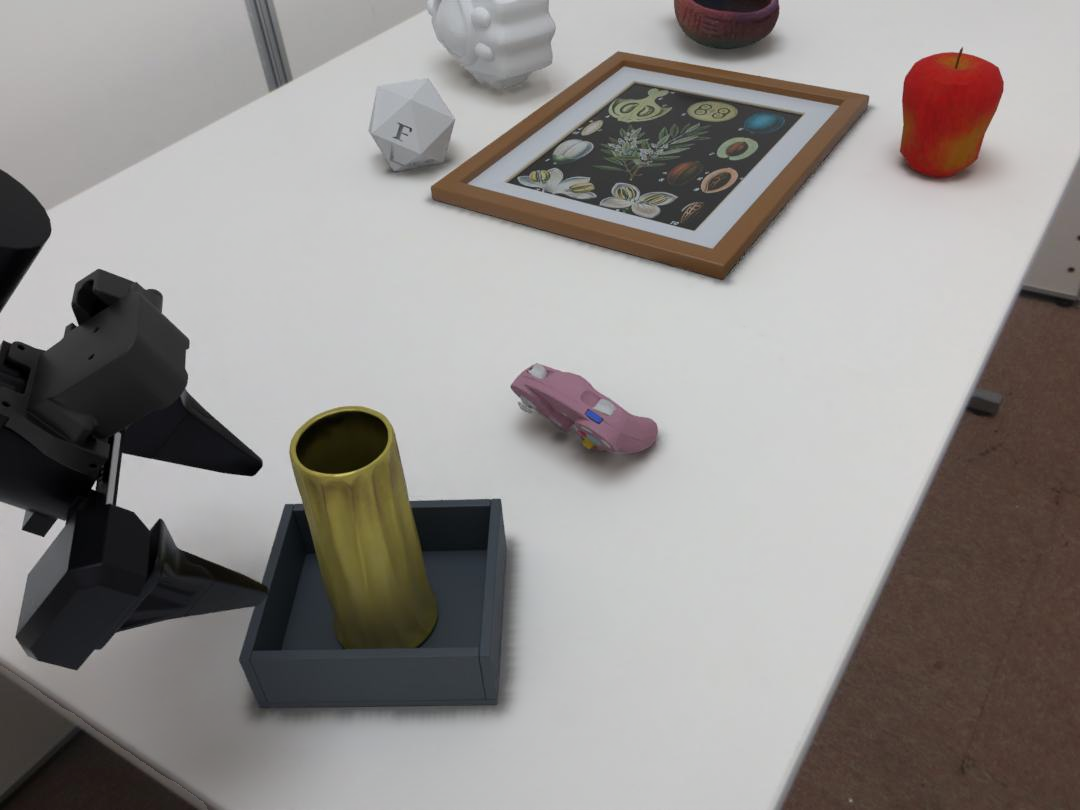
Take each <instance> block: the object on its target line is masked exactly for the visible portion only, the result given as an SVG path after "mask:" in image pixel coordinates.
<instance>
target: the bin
mask: <svg viewBox="0 0 1080 810" xmlns="http://www.w3.org/2000/svg"><path fill="white" fill-rule="evenodd" d="M409 502H410V505H411V509H412V512H413V516H414V520H415V525H416V529H417V533H418V536H419V541H420V545H421V550H422V556H423V561H424V565H425V569H426V573H427V577H428V580H429V583H430V585H431V588H432V590H433V592H434V594H435V597H436V600H437V606H438V618H437V621H436V623H435V626H434V628H433V630H432V631H431V633H430V635H429V636H428V637H427V638H426V640H425V641H424V642H423V643H421V644H420V645H419V646H418V647H416V648H388V649H345V648H344V647H343V646H342V645H341V643H340V642H339V640H338V638H337V636H336V633H335V630H334V624H333V611H332V608H331V605H330V602H329V600H328V597H327V594H326V591H325V587H324V583H323V579H322V575H321V571H320V567H319V563H318V559H317V555H316V551H315V547H314V543H313V539H312V535H311V531H310V527H309V523H308V520H307V516H306V513H305V509H304V506H303V503H285V504H284V505H283V510H282V513H281V516H280V520H279V523H278V526H277V529H276V532H275V536H274V540H273V542H272V546H271V550H270V553H269V557H268V560H267V563H266V566H265V570H264V573H263V577H262V580H261V582H260V583H261V584H263V585H265V586H267V587H268V596H267V597H266V598H265V599H264V600H263V601H262V602H261V603H260V604H259V605H257V606H254V607H253V609H252V610H253V611H252V614H251V617H250V620H249V624H248V628H247V630H246V634H245V637H244V640H243V644H242V648H241V651H240V654H239V658H238V662H239V664H240V666H241V669H242V671H243V673H244V676H245V678H246V680H247V683H248V685H249V687H250V689H251V692H252V694H253V696H254V699H255V701H256V703H257V705H258V708H261V709H262V708H263V709H265V708H266V709H267V708H270V709H271V708H329V707H330V708H332V707H333V708H338V707H388V706H389V707H395V706H396V707H399V706H400V707H401V706H402V707H403V706H464V705H466V706H473V705H474V706H475V705H498V701H499V686H500V670H501V669H500V667H501V652H502V636H503V635H502V634H503V617H504V600H505V584H506V570H507V569H506V568H507V567H506V566H507V553H508V552H507V551H508V550H507V549H508V547H507V537H506V531H505V530H506V529H505V521H504V513H503V505H502V498H474V499H473V498H472V499H471V498H470V499H469V498H468V499H435V500H434V499H429V500H428V499H427V500H409Z"/></svg>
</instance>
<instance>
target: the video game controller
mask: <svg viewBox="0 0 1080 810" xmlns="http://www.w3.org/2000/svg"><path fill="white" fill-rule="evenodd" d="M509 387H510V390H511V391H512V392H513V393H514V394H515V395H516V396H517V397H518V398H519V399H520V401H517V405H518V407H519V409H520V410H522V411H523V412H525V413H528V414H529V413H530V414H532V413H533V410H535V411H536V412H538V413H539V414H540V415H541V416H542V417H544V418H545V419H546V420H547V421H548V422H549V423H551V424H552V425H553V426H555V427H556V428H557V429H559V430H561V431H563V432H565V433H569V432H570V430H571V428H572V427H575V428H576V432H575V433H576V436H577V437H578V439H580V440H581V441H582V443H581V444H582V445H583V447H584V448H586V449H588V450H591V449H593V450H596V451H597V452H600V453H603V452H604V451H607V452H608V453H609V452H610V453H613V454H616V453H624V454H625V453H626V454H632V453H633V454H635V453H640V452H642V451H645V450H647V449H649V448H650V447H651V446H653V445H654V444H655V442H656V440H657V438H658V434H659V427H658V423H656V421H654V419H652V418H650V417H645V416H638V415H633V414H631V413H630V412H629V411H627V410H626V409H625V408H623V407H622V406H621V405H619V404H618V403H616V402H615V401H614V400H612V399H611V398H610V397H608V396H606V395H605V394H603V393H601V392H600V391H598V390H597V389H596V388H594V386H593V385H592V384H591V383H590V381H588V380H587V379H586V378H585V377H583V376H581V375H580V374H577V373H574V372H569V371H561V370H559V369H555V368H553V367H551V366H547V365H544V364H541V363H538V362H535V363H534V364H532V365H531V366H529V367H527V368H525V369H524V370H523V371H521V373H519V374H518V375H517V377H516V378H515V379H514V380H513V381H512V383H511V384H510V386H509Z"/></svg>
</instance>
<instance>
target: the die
mask: <svg viewBox="0 0 1080 810" xmlns="http://www.w3.org/2000/svg"><path fill="white" fill-rule="evenodd" d="M455 123H456V118H455V116H454V114H453V113H452V111H451V110H450V109H449V107H448V105H447V104H446V102H445V100H444V99H443V98H442V96H441V94H440V93H439V91H438V90H437V88H436V87H435V85H434V84H433V82H432V80H431V79H430V78H429V77H425V78H419V79H414V80H412V79H411V80H407V81H406V80H405V81H401V82H395V83H388V84H382V85H377V86H376V91H375V96H374V102H373V105H372V110H371V115H370V121H369V126H368V130H367V132H368V133H369V134H370V136H371V137H372V139H373V141H374V142H375V144H376V145H377V147H378V149H379V151H380V152H381V153H382V155H383V157H384V158H385V160H386V161H387V163H388V164H389V167H390V168H391V169H392V172H394V173H395V172H401V171H405V170H411V169H418V168H422V167H423V168H424V167H428V166H435V165H439V164H444V163H445V160H446V157H447V154H448V153H447V152H448V148H449V145H450V143H451V138H452V133H453V130H454V128H455V127H454V126H455Z"/></svg>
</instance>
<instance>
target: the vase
mask: <svg viewBox="0 0 1080 810" xmlns="http://www.w3.org/2000/svg"><path fill="white" fill-rule="evenodd" d="M288 453H289V459H290V464H291V468H292V473H293V475H294V479H295V483H296V486H297V489H298V492H299V496H300V498H301V503H302V504H303V506H304V509H305V513H306V516H307V520H308V523H309V527H310V531H311V535H312V539H313V543H314V547H315V551H316V555H317V559H318V563H319V567H320V571H321V575H322V579H323V583H324V587H325V591H326V594H327V597H328V600H329V602H330V605H331V608H332V611H333V624H334V630H335V633H336V636H337V638H338V640H339V642H340V643H341V645H342V646H343V647H344V648H345V649H388V648H416V647H418V646H419V645H420V644H421V643H423V642H424V641H425V640H426V638H427V637H428V636H429V635H430V633H431V631H432V630H433V628H434V626H435V623H436V621H437V618H438V606H437V600H436V597H435V594H434V592H433V590H432V588H431V585H430V583H429V580H428V577H427V573H426V569H425V565H424V561H423V556H422V550H421V545H420V541H419V536H418V533H417V529H416V525H415V520H414V516H413V512H412V509H411V505H410V502H409V501H410V498H409V492H408V487H407V482H406V476H405V473H404V468H403V463H402V458H401V454H400V450H399V446H398V441H397V436H396V432H395V429H394V426H393V424H392V423H391V421H390V420H389V419H388V417H387V416H385V414H383V413H382V412H380V411H377V410H375V409H372V408H370V407H366V406H361V405H345V406H338V407H334V408H331V409H328V410H325V411H323V412H320V413H318V414H315V415H314V416H312V417H311V418H309V419H308V420H306V421H305V422H304V423H303V424H302V425H301V426H300V427H299V428H297V430H296V431H295V433H294V435H293V436H292V438H291V440H290V444H289V452H288Z"/></svg>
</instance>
